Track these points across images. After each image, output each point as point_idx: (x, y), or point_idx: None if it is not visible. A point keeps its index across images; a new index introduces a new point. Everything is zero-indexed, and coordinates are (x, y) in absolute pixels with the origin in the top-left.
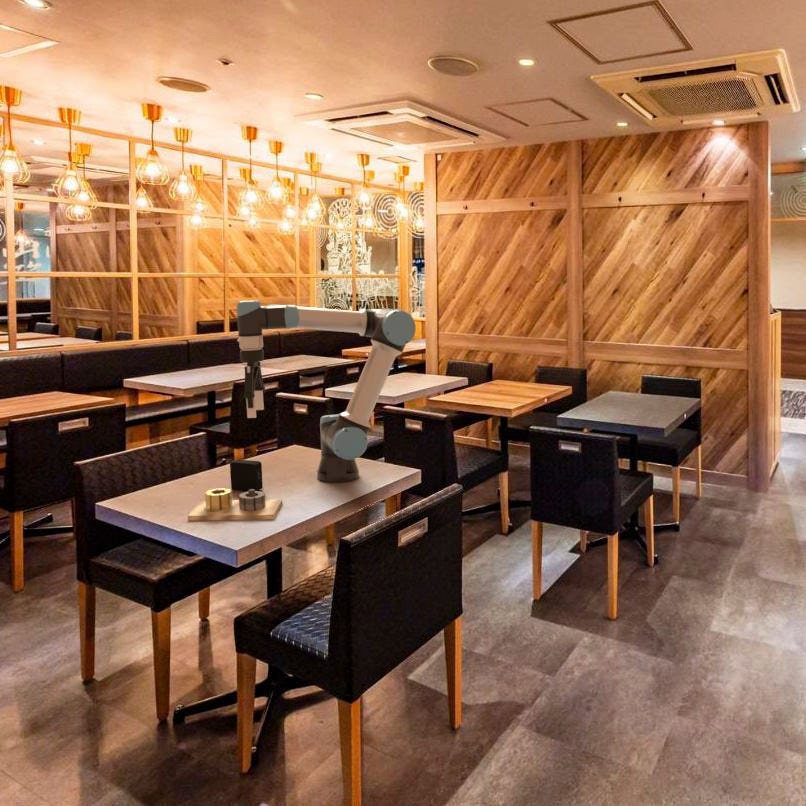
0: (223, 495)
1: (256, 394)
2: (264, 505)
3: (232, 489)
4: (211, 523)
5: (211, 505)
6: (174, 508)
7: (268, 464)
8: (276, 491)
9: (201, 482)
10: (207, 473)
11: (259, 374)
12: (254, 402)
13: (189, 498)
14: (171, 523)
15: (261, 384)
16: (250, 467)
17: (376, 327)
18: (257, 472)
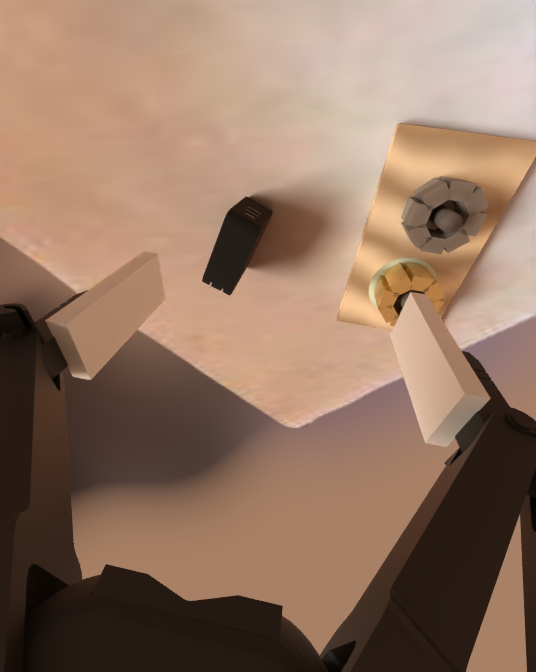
0: (441, 291)
1: (104, 347)
2: (454, 178)
3: (246, 267)
4: (471, 293)
5: None
6: (342, 354)
7: (31, 193)
8: (269, 152)
9: (189, 324)
10: None
11: (16, 591)
12: (468, 365)
13: (288, 336)
14: None
15: (5, 369)
16: (256, 240)
17: None
18: (256, 217)
